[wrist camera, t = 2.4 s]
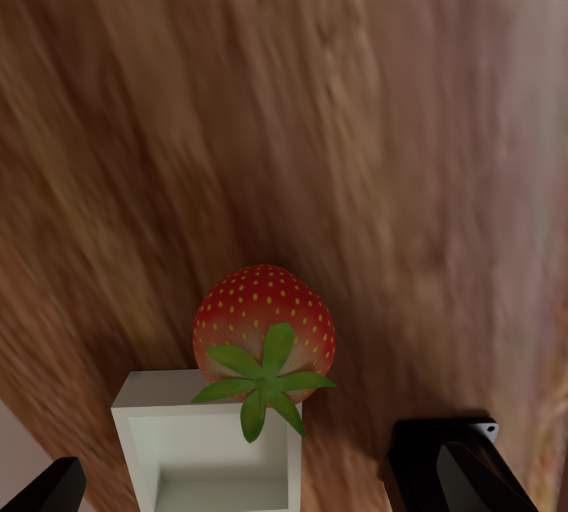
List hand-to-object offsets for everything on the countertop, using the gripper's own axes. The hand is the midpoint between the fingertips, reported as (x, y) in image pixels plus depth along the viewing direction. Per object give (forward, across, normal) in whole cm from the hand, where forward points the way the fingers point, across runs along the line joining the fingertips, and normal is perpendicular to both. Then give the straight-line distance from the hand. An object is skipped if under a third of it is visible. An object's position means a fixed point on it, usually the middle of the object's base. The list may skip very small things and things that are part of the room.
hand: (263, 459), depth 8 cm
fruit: (+9, 0, 0) cm, 9 cm away
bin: (+9, +3, +10) cm, 14 cm away
